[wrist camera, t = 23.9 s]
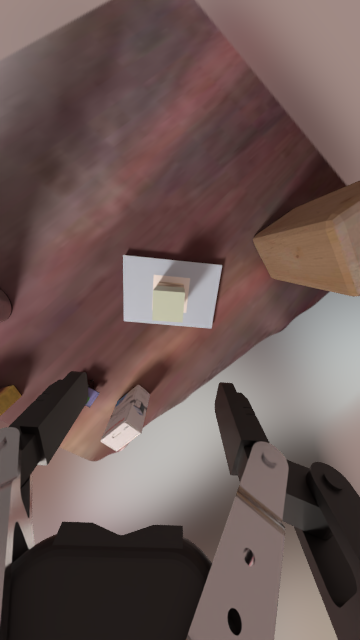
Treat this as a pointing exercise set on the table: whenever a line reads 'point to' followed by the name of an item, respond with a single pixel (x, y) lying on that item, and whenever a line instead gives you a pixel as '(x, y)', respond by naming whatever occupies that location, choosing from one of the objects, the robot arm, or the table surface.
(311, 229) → the wooden block
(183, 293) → the sage cap block
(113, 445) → the ink box
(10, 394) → the candy box
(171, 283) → the maple block
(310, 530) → the robot arm
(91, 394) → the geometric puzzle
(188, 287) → the board
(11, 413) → the table surface
